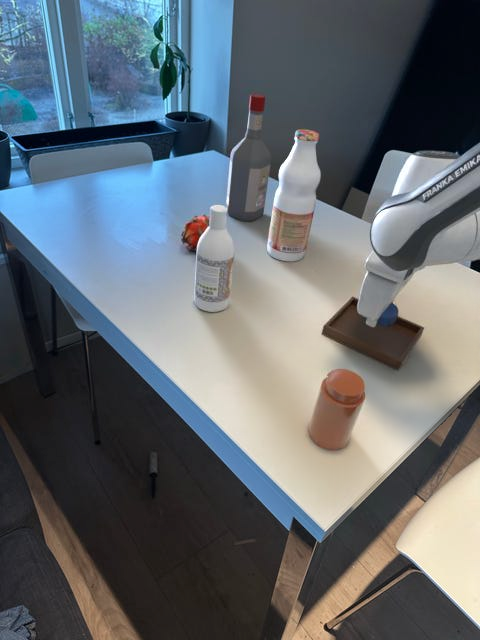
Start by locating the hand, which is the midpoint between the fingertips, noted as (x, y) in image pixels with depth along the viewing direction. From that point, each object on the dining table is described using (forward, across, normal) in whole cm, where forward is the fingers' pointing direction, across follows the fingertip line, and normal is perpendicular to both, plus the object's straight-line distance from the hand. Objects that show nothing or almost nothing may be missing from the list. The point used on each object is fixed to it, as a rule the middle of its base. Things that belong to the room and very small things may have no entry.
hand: (378, 315), depth 83 cm
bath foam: (+5, +13, -29) cm, 32 cm away
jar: (+5, +27, +4) cm, 28 cm away
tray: (+5, 0, 0) cm, 5 cm away
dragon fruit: (+5, -3, -45) cm, 45 cm away
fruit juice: (+5, -16, -29) cm, 33 cm away
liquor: (+5, -27, -49) cm, 56 cm away
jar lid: (-1, 0, 0) cm, 1 cm away
